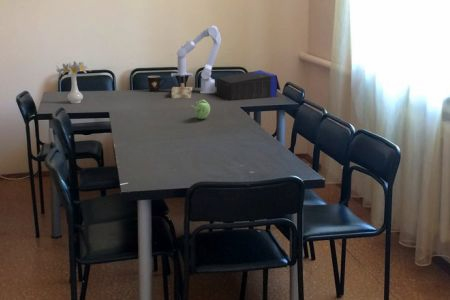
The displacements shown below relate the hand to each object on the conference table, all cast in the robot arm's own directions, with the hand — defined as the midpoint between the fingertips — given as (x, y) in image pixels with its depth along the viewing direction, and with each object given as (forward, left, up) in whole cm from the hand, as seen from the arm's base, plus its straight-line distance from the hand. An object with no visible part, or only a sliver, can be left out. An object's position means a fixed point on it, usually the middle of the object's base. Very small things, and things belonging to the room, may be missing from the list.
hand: (182, 87), depth 386 cm
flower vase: (+65, +32, -4) cm, 73 cm away
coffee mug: (+18, -5, -4) cm, 19 cm away
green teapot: (-14, +81, -4) cm, 82 cm away
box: (0, +14, -4) cm, 14 cm away
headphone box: (-43, +12, -4) cm, 45 cm away
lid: (0, 0, -2) cm, 2 cm away
